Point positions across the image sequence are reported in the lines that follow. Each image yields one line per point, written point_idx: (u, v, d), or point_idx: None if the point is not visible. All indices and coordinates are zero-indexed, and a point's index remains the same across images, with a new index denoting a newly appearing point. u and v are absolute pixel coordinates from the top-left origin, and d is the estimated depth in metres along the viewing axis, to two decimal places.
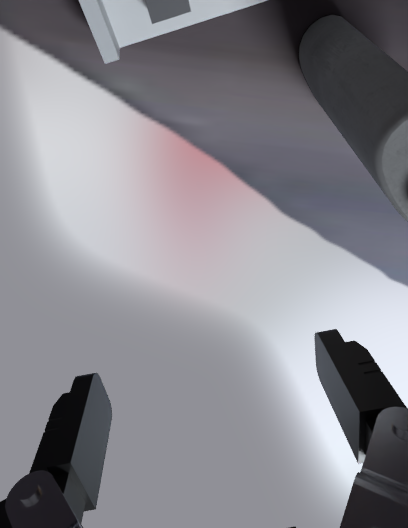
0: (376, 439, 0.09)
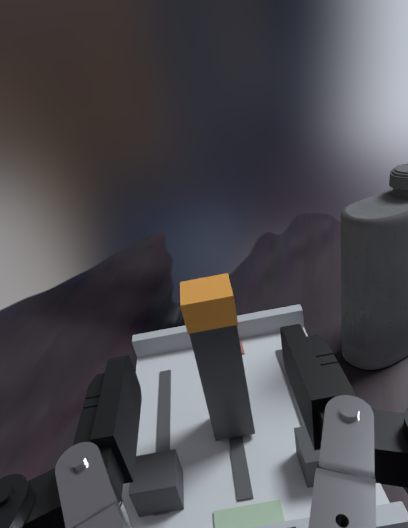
0: (328, 430, 0.10)
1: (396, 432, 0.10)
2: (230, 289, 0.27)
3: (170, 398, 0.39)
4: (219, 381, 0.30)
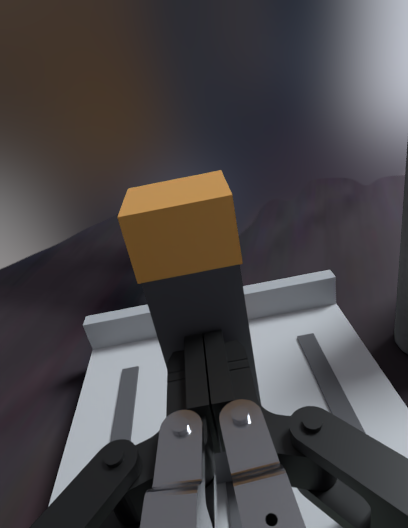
0: (228, 440, 0.10)
1: (284, 434, 0.10)
2: (226, 187, 0.13)
3: (133, 411, 0.24)
4: None
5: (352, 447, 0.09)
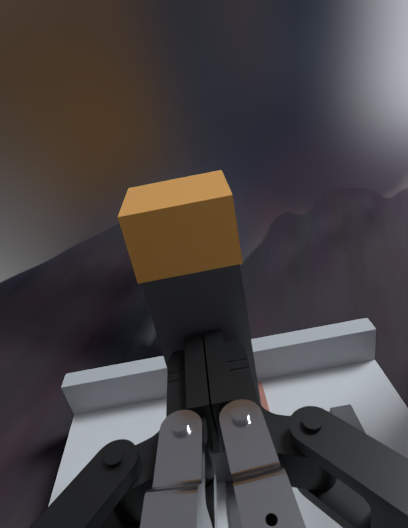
0: (228, 440, 0.10)
1: (284, 435, 0.10)
2: (226, 187, 0.13)
3: None
4: None
5: (352, 447, 0.09)
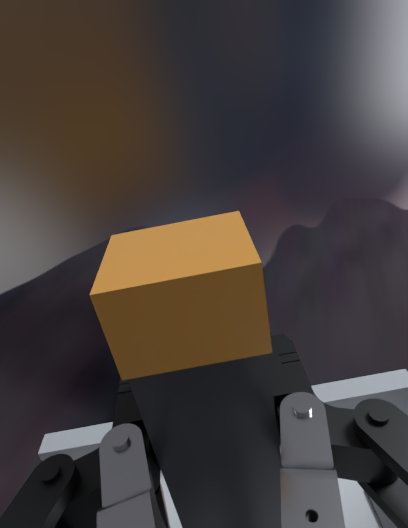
0: (285, 428, 0.10)
1: (347, 427, 0.10)
2: (250, 246, 0.09)
3: None
4: (216, 491, 0.12)
5: None
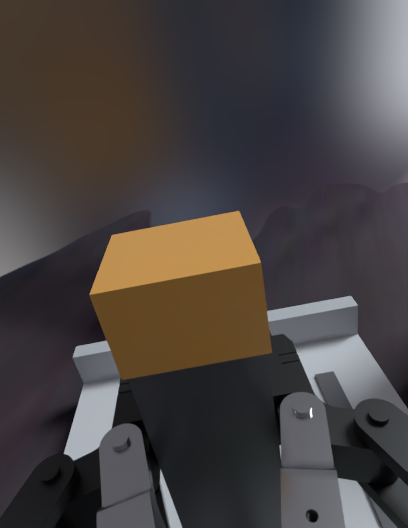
0: (285, 428, 0.10)
1: (347, 427, 0.10)
2: (249, 246, 0.09)
3: None
4: (216, 491, 0.12)
5: None
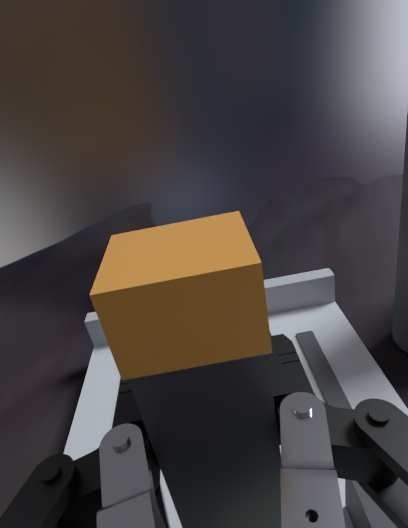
0: (285, 429, 0.10)
1: (347, 427, 0.10)
2: (250, 246, 0.09)
3: None
4: (215, 491, 0.12)
5: None
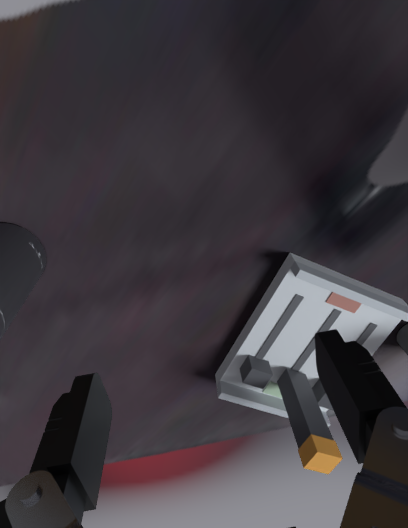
0: (376, 439, 0.09)
1: None
2: (331, 470, 0.48)
3: (288, 319, 0.55)
4: None
5: None
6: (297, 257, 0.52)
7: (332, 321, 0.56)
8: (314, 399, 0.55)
